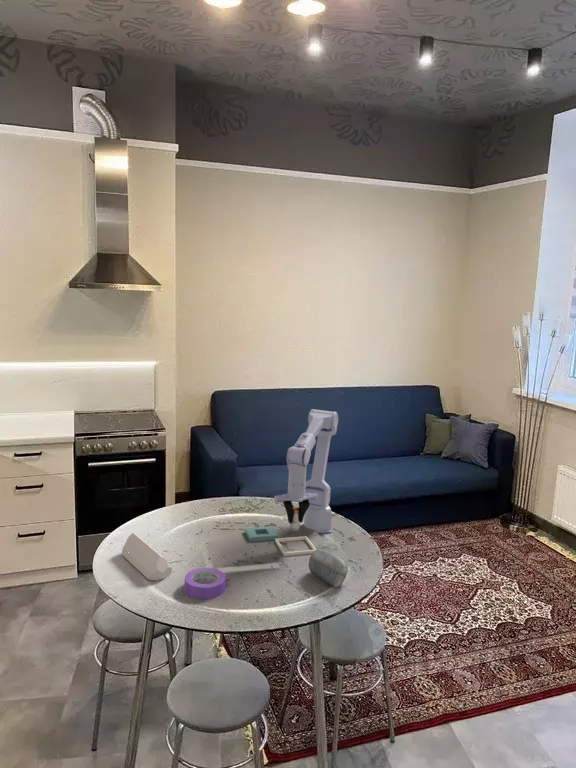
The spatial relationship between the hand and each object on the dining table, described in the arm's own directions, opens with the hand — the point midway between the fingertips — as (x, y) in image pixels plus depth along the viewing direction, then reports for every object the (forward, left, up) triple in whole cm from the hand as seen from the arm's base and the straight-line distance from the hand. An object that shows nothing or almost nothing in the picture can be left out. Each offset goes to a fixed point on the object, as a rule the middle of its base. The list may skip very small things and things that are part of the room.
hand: (295, 521), depth 194 cm
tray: (0, 0, -10) cm, 10 cm away
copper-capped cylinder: (0, 0, -2) cm, 2 cm away
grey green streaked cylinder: (-4, +20, -10) cm, 23 cm away
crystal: (+48, 0, -11) cm, 49 cm away
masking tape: (+33, +18, -11) cm, 39 cm away
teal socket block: (+9, -11, -10) cm, 17 cm away
